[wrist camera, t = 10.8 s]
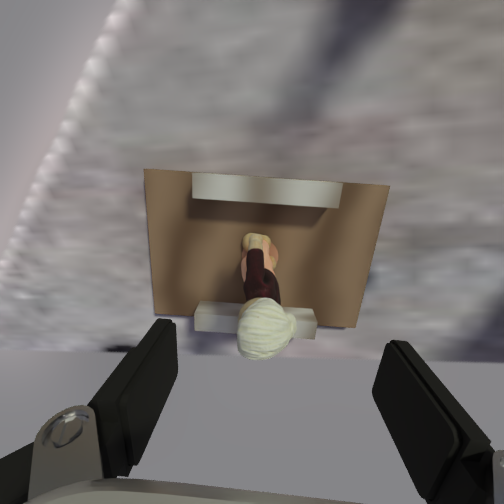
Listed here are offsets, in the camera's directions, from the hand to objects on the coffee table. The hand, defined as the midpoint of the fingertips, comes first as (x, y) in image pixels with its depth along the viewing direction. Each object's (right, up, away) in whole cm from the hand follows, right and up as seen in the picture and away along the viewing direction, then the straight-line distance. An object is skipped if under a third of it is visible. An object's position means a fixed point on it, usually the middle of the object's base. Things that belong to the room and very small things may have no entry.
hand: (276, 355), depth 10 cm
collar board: (0, +5, +14) cm, 15 cm away
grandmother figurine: (0, +4, +13) cm, 14 cm away
